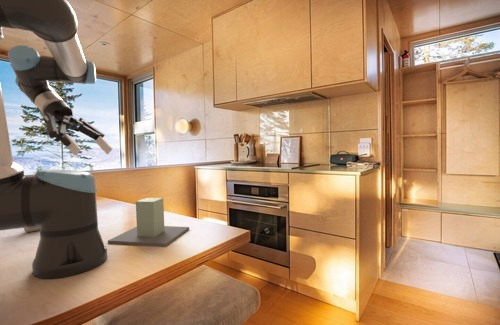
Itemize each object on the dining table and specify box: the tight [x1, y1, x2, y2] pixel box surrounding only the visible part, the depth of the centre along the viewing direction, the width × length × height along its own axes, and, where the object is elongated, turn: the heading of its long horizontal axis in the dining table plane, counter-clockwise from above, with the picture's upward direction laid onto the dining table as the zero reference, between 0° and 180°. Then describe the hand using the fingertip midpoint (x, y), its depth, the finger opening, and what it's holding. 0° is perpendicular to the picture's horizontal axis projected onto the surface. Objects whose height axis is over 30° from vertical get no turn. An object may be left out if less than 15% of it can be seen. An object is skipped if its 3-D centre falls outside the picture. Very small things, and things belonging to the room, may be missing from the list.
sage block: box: [135, 197, 165, 237], centre depth 84 cm, size 6×6×11 cm
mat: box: [107, 225, 190, 247], centre depth 85 cm, size 16×19×1 cm
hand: (95, 151), depth 87 cm, fingers open, 13 cm apart
